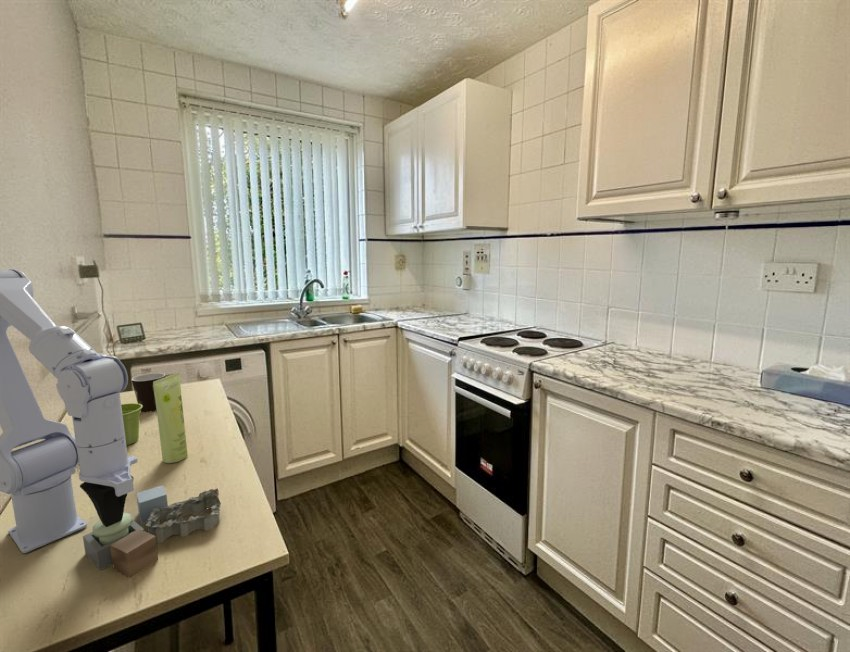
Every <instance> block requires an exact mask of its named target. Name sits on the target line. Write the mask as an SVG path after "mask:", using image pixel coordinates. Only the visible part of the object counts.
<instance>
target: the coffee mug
mask: <svg viewBox="0 0 850 652" xmlns="http://www.w3.org/2000/svg"><path fill="white" fill-rule="evenodd" d="M165 377H166V374H165V373H161V372H155V373H154V372H153V373H152V372H151V373H146V374H145V373H144V374H141V375H137V376H133V377H132V378H131V383H132V387H133V390H134V391H133V392H134V394H135V395H134V396H135V398H136V403H138V404H141V405H142V406H143V407H142V409H141V412H143V413H148V412H150V411H151V412H155V410H156V402H155V395H154V388H153V382H154V381H157V380H160V379H162V378H165ZM156 411H157V410H156Z"/></svg>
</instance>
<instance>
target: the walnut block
mask: <svg viewBox="0 0 850 652" xmlns="http://www.w3.org/2000/svg"><path fill="white" fill-rule="evenodd" d="M157 545H158V544H157V541H156V536H154V535H152V534H150V533H149V532H148V531H145V530H144V531H143V530H140V529H138V530H136V531H135V532H133V533H131V534H129V535H127V536H126V537H124V538H122V539H120V540H119V541H117V542H115V543H113V544H112V545H110V548H111V555H112V563H113V564H112V567H113V568H112V569H113V570H114V571H115V572H117V573H120V574H121V575H123V576H125V577H128V578H129V579H132V577H134V576H136V575H137V574H139V573H140V572H142V571H143V570H145V569H146V568H148V567H149V566H150V565H153V564H154V563H155V562H157V561H158V560H159V553H158V546H157Z"/></svg>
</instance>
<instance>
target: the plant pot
mask: <svg viewBox="0 0 850 652" xmlns="http://www.w3.org/2000/svg"><path fill="white" fill-rule="evenodd" d="M121 407H122V415H123V423H124V431H125V439H126V447H127V446H129V445H133V444H134V443H136V442H138V440H139V437H140V435H139V433H140V431H139V430H140V415H141V409H142V407H143V406H142V405H141V404H138V402H135V403H133V402H132V403H121Z"/></svg>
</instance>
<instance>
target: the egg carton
mask: <svg viewBox="0 0 850 652" xmlns="http://www.w3.org/2000/svg"><path fill="white" fill-rule="evenodd" d="M219 495H220V492H219V488H215V489H213V488H211V489H209V490H204V491H202V492H199V494H198V496H194V497H193V496H192V497H189V498H188V499H186V500H183V501H177V502H174V503H171V504H170V505H169V504H168V506H167V507H164V508H162V509H160V508H155V509H152V512H151V514H150V517H149V519H148V520H147V522H146V523H145V526H147V530H148V531H147V533H150V534H152V535H154V536H156V544H157V543H162V542H165V540H167V538H169V537H172V536H173V535H180V537H186V536H189V534H190V533H191V532H193V531H195V530H198V529H203V530H204V531H211V530H212V529H213V527H214V526H216V525H218V524H219V523H220V512H221V509H220V508H221V506H222V503H221V502H220V497H219ZM210 507H212V508H210ZM207 508H210V509H211V513H210V514H206V515H203V516H201V514H203V513H205V512H206V511H207V510H208V509H207ZM206 509H207V510H206ZM205 510H206V511H205ZM204 511H205V512H204ZM219 511H220V512H219ZM202 512H203V513H202ZM200 513H201V514H200ZM189 514H192V515H194V516H195V517H194V516H189V517H188V520H184V518H183V517H184V516H185V515H189ZM197 514H198V515H197ZM164 520H166V521H164ZM162 521H164V522H163V523H162ZM161 523H162V524H161Z"/></svg>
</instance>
